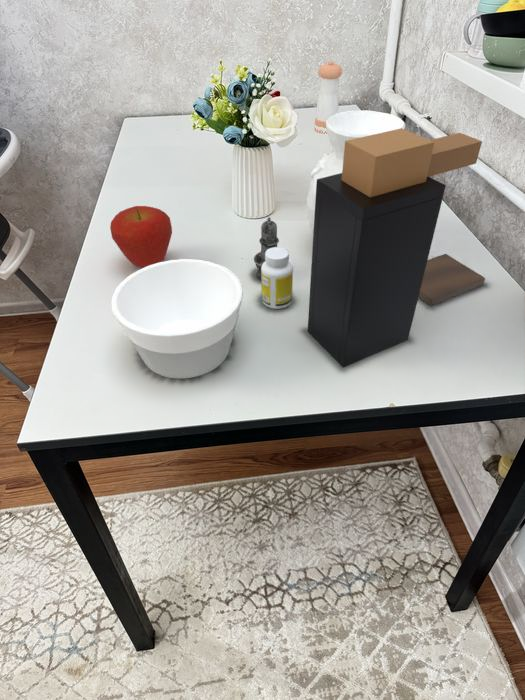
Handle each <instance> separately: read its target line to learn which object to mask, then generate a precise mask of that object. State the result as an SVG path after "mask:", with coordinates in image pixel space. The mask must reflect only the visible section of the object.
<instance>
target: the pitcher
mask: <svg viewBox="0 0 525 700" xmlns="http://www.w3.org/2000/svg"><path fill="white" fill-rule="evenodd" d="M400 128H402V129H404V130H406V129H405V128H406V123H405V121H404V120H403V119H402V118H400V117H398V116H396V115H394V114H391V113H388V112H381V111H376V110H368V109H366V110H365V109H364V110H362V109H361V110H360V109H359V110H347V111H341V112H338V113H336V114H333V115H331V116H330V117H329V118H328V119H327V120H326V129H327V134H326V135H327V137H328V140H329V143H330V146H331V150H332V151H331V152H330V153H327V152H324V153H323V154H322V156H321V159H319V160H318V162H317V165H316V166H315V167H314V168H313V169H312V170H311V172H310V177H311V180H310V184H309V188H308V193H307V199H306V218H307V221H308V224H309V227H310V231H311V233H312V234H313V232H314V216H315V199H316V184H317V179H320V178H324V177H328V176H332V175H336V174H340V173H342V169H343V158H344V148H345V141H348V140H352V139H356V138H361V137H365V136H370V135H374V134H378V133H383V132H387V131H392V130H396V129H400Z"/></svg>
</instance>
